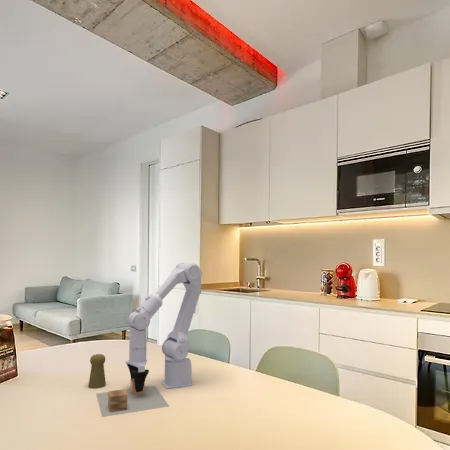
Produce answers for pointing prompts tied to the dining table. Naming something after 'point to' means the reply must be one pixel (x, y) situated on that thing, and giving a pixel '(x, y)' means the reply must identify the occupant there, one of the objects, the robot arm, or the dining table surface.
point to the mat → (134, 401)
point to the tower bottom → (117, 406)
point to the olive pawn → (97, 372)
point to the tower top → (117, 396)
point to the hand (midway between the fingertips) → (137, 387)
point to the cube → (132, 388)
